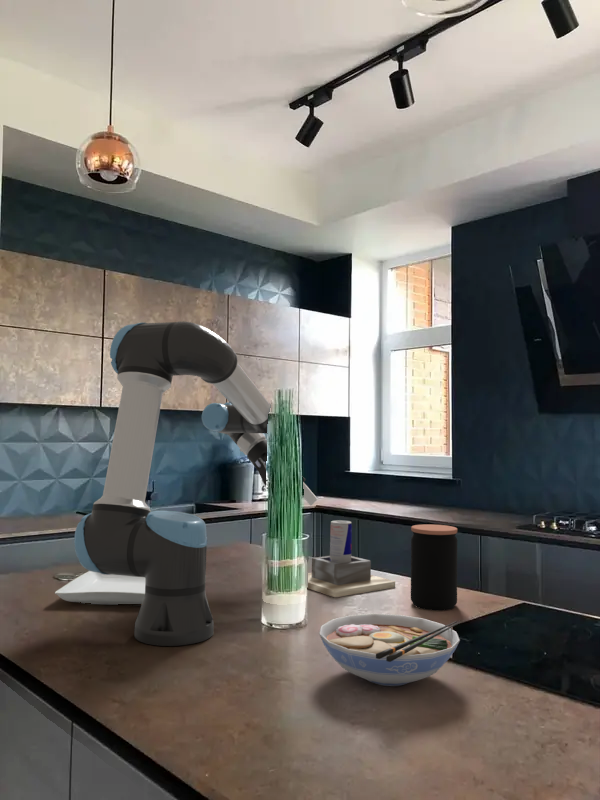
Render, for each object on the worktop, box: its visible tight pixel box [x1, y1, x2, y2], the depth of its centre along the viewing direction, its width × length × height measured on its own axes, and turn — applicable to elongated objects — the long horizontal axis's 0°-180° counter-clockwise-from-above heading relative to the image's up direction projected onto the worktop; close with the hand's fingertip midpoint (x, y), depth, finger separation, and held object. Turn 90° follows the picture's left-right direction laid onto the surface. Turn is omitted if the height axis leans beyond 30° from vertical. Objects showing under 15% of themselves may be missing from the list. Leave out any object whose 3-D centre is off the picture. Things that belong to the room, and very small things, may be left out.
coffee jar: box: [410, 523, 458, 612], centre depth 156 cm, size 11×11×18 cm
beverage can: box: [329, 519, 353, 563], centre depth 175 cm, size 6×6×15 cm
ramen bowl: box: [318, 613, 461, 687], centre depth 109 cm, size 25×23×8 cm
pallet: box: [307, 555, 396, 598], centre depth 175 cm, size 20×20×6 cm
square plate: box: [54, 570, 145, 605], centre depth 162 cm, size 27×27×4 cm
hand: (304, 504), depth 180 cm, fingers open, 13 cm apart
